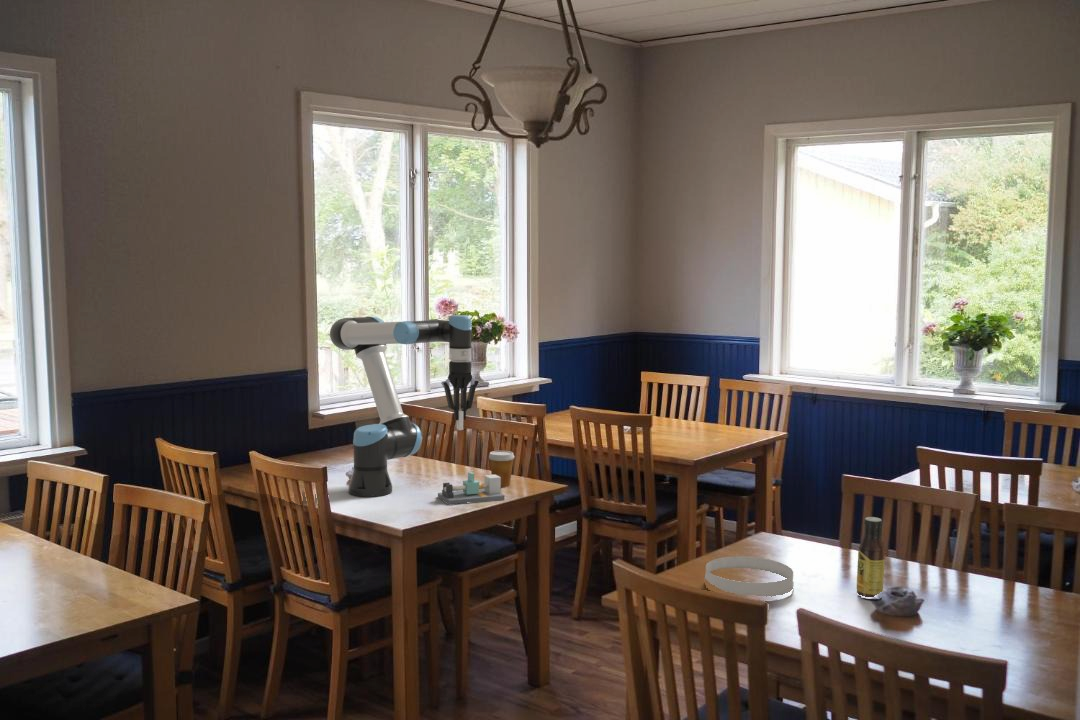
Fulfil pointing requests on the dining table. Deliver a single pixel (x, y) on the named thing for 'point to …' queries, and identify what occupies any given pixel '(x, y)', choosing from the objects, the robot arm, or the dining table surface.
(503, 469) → the disposable coffee cup
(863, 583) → the sauce bottle
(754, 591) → the ring
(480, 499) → the cable board
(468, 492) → the sleeve
